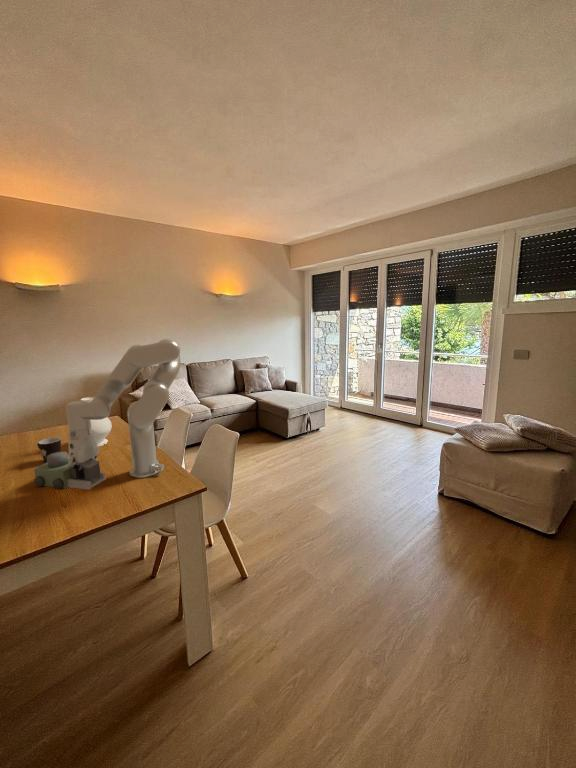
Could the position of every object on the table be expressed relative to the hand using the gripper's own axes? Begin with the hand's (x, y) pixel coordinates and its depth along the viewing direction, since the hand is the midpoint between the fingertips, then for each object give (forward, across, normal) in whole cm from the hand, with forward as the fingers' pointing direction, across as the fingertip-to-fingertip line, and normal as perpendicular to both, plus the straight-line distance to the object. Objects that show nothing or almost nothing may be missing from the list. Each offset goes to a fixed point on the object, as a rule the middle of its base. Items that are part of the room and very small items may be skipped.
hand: (86, 474), depth 133 cm
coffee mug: (+4, +16, +35) cm, 39 cm away
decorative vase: (+4, +38, +31) cm, 49 cm away
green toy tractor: (+4, 0, +7) cm, 8 cm away
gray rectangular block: (+1, 0, 0) cm, 1 cm away
